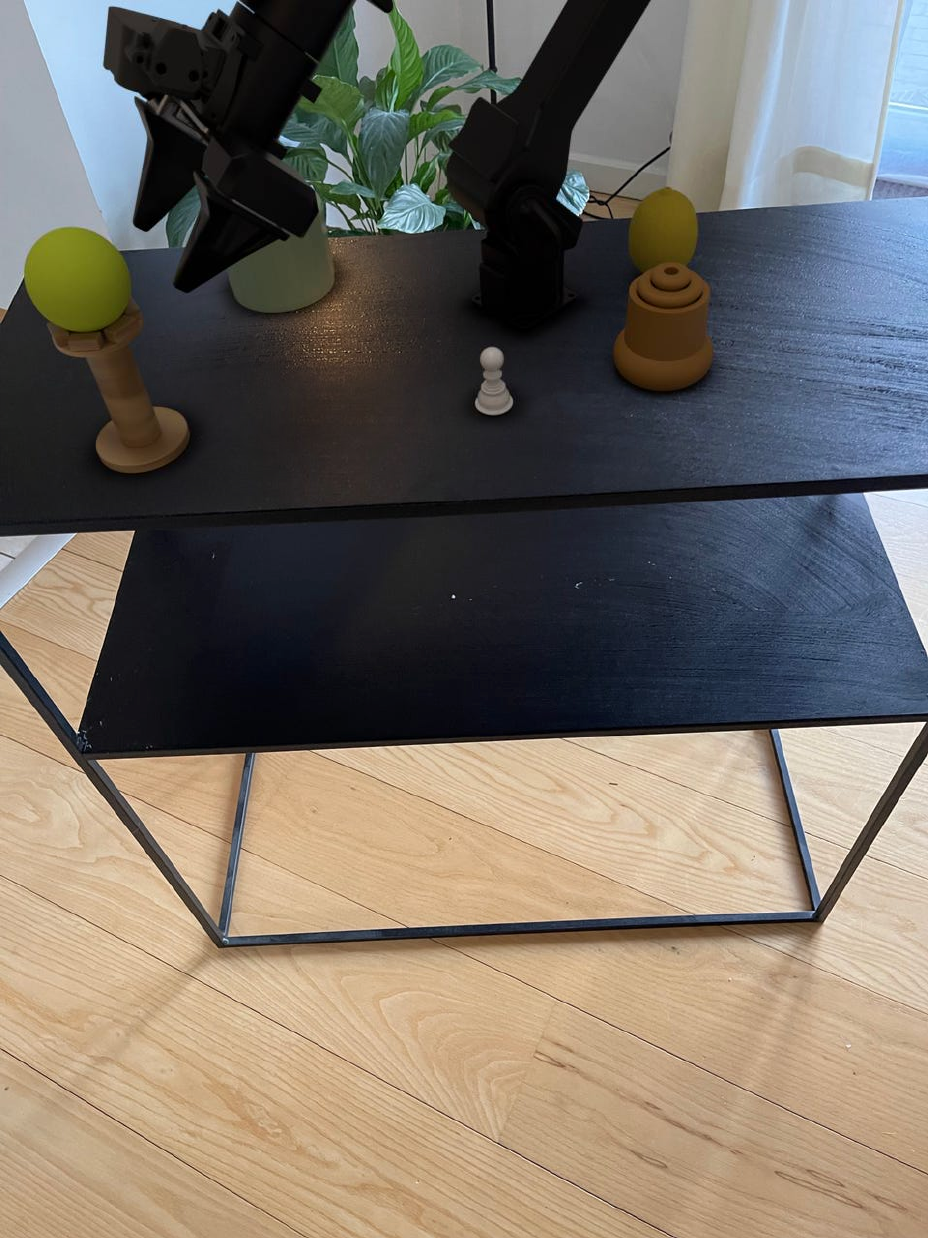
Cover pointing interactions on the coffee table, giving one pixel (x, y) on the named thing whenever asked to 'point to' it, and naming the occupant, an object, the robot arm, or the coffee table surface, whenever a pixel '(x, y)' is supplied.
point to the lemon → (663, 230)
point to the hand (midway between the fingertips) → (158, 257)
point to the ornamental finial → (665, 330)
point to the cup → (286, 271)
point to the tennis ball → (77, 279)
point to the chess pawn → (493, 384)
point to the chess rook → (125, 397)
